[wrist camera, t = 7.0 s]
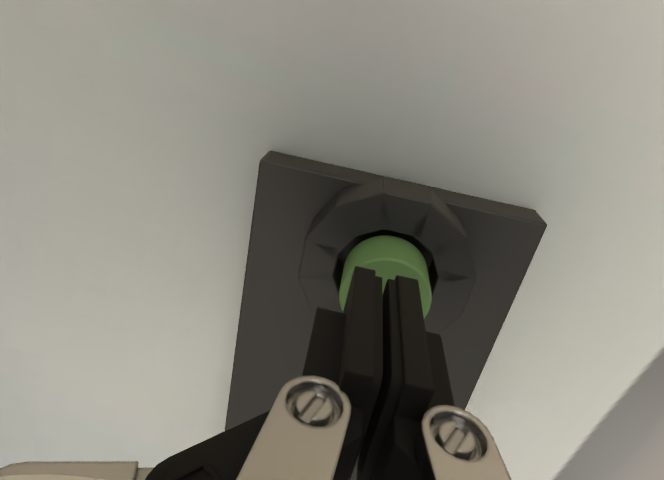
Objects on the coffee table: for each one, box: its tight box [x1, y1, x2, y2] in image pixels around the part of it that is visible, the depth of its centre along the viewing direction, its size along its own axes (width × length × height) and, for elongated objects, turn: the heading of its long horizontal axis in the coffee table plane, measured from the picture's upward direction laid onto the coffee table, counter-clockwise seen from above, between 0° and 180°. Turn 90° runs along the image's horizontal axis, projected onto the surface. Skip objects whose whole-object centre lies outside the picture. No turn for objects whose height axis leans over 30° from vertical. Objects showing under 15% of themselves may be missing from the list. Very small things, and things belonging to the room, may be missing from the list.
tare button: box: [339, 235, 432, 319], centre depth 14 cm, size 3×3×2 cm
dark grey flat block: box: [225, 151, 547, 480], centre depth 18 cm, size 16×10×3 cm, turn 169°
